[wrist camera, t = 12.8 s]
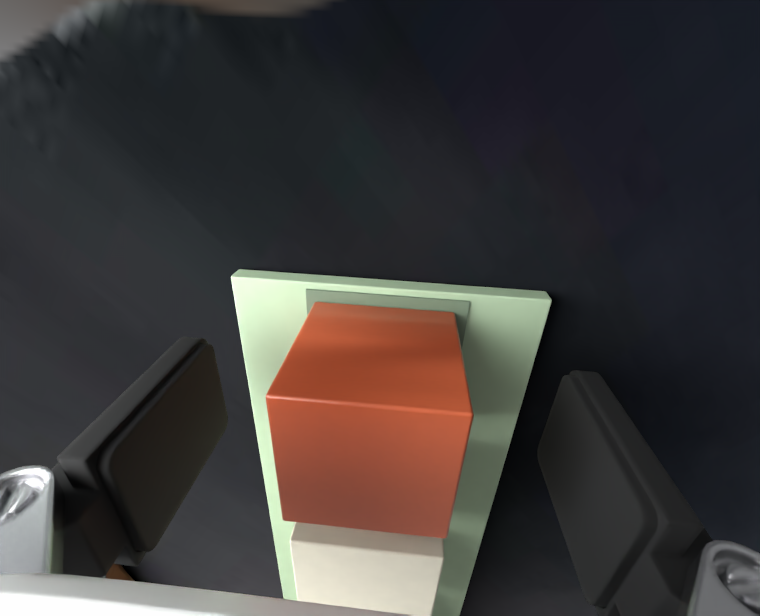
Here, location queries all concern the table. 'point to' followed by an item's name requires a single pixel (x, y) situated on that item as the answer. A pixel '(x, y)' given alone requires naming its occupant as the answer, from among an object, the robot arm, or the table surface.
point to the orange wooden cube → (371, 420)
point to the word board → (483, 454)
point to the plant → (118, 573)
